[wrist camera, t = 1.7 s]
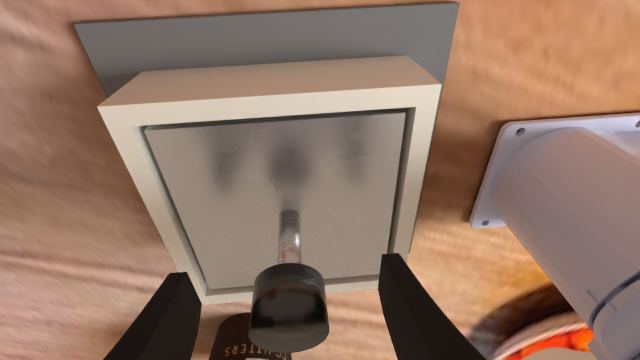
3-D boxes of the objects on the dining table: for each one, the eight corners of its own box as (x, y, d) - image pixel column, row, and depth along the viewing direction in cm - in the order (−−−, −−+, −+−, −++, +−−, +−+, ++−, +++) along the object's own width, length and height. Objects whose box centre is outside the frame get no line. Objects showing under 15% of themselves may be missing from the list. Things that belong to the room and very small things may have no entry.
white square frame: (407, 55, 14) (441, 84, 11) (384, 236, 21) (401, 286, 18) (142, 71, 14) (96, 106, 10) (209, 251, 21) (194, 305, 18)
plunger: (401, 107, 12) (476, 207, 7) (381, 266, 18) (415, 381, 13) (149, 125, 12) (49, 242, 7) (212, 281, 18) (182, 405, 13)
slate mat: (453, 1, 14) (459, 3, 13) (407, 247, 23) (409, 253, 23) (81, 22, 13) (73, 24, 12) (190, 265, 22) (188, 272, 22)
